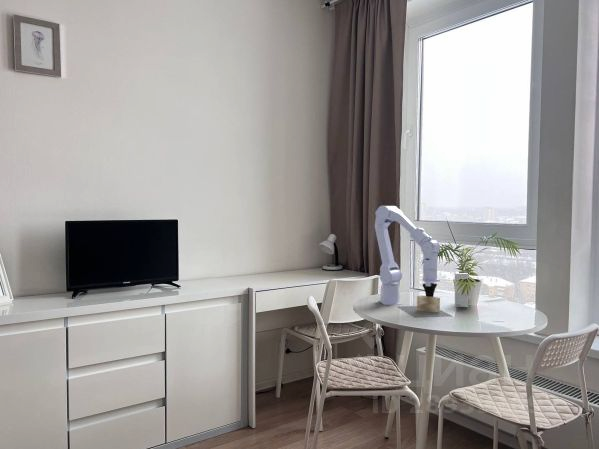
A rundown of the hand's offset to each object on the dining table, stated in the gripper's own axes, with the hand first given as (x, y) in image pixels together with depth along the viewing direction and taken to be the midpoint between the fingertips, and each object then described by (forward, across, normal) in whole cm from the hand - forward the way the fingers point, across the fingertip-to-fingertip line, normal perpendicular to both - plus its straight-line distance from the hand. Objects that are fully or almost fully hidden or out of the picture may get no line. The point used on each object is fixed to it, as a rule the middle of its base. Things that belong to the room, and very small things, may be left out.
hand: (429, 300), depth 196 cm
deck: (+3, -4, 0) cm, 5 cm away
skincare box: (+4, +14, -12) cm, 19 cm away
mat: (+4, -5, +2) cm, 7 cm away
